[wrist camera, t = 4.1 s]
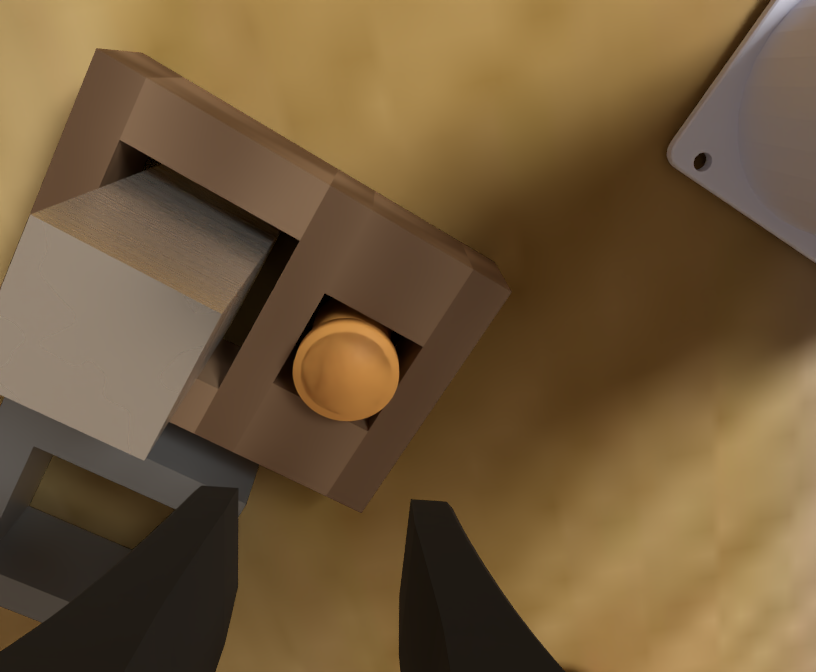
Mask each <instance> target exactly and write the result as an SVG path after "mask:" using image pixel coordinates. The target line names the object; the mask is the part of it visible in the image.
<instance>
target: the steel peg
mask: <svg viewBox="0 0 816 672" xmlns="http://www.w3.org/2000/svg"><path fill="white" fill-rule="evenodd" d="M281 231H282V230H280V229H278V228H276V227H274V226H273V225H271V224H269V223H267V222H266V221H264V220H262V219H260V218H258V217H257V216H255V215H253V214H251V213H249V212H248V211H246V210H244V209H242V208H241V207H239V206H237V205H235V204H233V203H232V202H230V201H228V200H226V199H225V198H223V197H221V196H219V195H217V194H216V193H214V192H212V191H210V190H208V189H207V188H205V187H203V186H201V185H200V184H198V183H196V182H194V181H192V180H191V179H189V178H187V177H185V176H184V175H182V174H180V173H178V172H176V171H175V170H173V169H171V168H169V167H167V166H166V165H164V164H161V165H158V166H155V167H153V168H150V169H148V170H145V171H142V172H140V173H137V174H135V175H132V176H129V177H127V178H124V179H122V180H119V181H116V182H114V183H111V184H109V185H106V186H103V187H101V188H98V189H96V190H93V191H90V192H88V193H85V194H82V195H80V196H77V197H75V198H72V199H69V200H67V201H64V202H62V203H59V204H56V205H54V206H51V207H49V208H46V209H43V210H41V211H38V212H36V213H33V214H30V217H29V219H28V222H27V224H26V227H25V229H24V232H23V234H22V237H21V239H20V242H19V244H18V247H17V249H16V252H15V254H14V257H13V259H12V262H11V264H10V267H9V269H8V272H7V274H6V277H5V279H4V282H3V284H2V287H1V289H0V395H2V396H4V397H6V398H8V399H11V400H13V401H15V402H17V403H19V404H22V405H24V406H26V407H28V408H30V409H32V410H35V411H37V412H39V413H41V414H43V415H45V416H48V417H50V418H52V419H54V420H56V421H59V422H61V423H63V424H65V425H67V426H69V427H72V428H74V429H76V430H78V431H80V432H83V433H85V434H87V435H89V436H91V437H93V438H96V439H98V440H100V441H102V442H104V443H107V444H109V445H111V446H113V447H115V448H117V449H120V450H122V451H124V452H126V453H128V454H131V455H133V456H135V457H137V458H139V459H141V460H145V459H146V457H147V456H148V454H149V453H150V451H151V449H152V448H153V446H154V445H155V443H156V442H157V440H158V438H159V437H160V435H161V434H162V432H163V431H164V429H165V427H166V426H167V424H168V423H169V421H170V420H171V418H172V416H173V415H174V413H175V412H176V410H177V409H178V407H179V405H180V404H181V402H182V401H183V399H184V398H185V396H186V394H187V393H188V391H189V390H190V388H191V387H192V385H193V383H194V382H195V380H196V379H197V377H198V376H199V374H200V372H201V371H202V369H203V368H204V366H205V365H206V363H207V361H208V360H209V358H210V357H211V355H212V354H213V352H214V350H215V349H216V347H217V346H218V344H219V343H220V341H221V339H222V338H223V336H224V335H225V333H226V332H227V330H228V329H229V327H230V325H231V324H232V322H233V320H234V318H235V317H236V315H237V313H238V311H239V309H240V307H241V305H242V303H243V302H244V300H245V298H246V296H247V294H248V292H249V290H250V289H251V287H252V285H253V283H254V281H255V279H256V277H257V276H258V274H259V272H260V270H261V268H262V266H263V264H264V262H265V261H266V259H267V257H268V255H269V253H270V251H271V249H272V248H273V246H274V244H275V242H276V240H277V238H278V236H279V234H280V233H281Z"/></svg>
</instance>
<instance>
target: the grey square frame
mask: <svg viewBox="0 0 816 672" xmlns="http://www.w3.org/2000/svg"><path fill="white" fill-rule="evenodd" d="M53 455H55V456H57V457H59V458H62V459H64V460H66V461H68V462H70V463H73V464H75V465H77V466H79V467H82V468H84V469H86V470H88V471H91V472H93V473H95V474H97V475H100V476H102V477H104V478H106V479H109V480H111V481H113V482H115V483H118V484H120V485H122V486H124V487H127V488H129V489H131V490H133V491H135V492H138V493H140V494H142V495H144V496H147V497H149V498H151V499H153V500H156V501H158V502H160V503H162V504H165V505H167V506H169V507H171V508H174V509H177V508H178V507H179V506H180V505H181V504H182V503H183V502H184V501H185V500H186V499H187V498H188V497H189V496H190V495H191V494H192V493H193V492H194V491H195V490H196V489H198V488H199V487H200V486H217V487H232V488H239V495H238V517H239V515H240V514H241V512H242V510H243V509H244V507H245V505H246V504H247V500H248V497H249V494H250V491H251V488H252V485H253V482H254V479H255V476H256V473H257V470H258V467H259V464H257V463H255V462H253V461H251V460H249V459H247V458H244V457H242V456H240V455H238V454H236V453H234V452H232V451H230V450H228V449H225V448H223V447H221V446H219V445H217V444H215V443H213V442H211V441H209V440H207V439H204V438H202V437H200V436H198V435H196V434H194V433H192V432H190V431H188V430H185V429H183V428H181V427H179V426H177V425H175V424H173V423H171V422H169V423H168V424H167V426H166V427H165V429H164V431H163V432H162V434H161V435H160V437H159V438H158V440H157V442H156V443H155V445H154V446H153V448H152V449H151V451H150V453H149V454H148V456H147V457H146V459H145V460H141V459H139V458H137V457H135V456H133V455H131V454H128V453H126V452H124V451H122V450H120V449H117V448H115V447H113V446H111V445H109V444H107V443H104V442H102V441H100V440H98V439H96V438H93V437H91V436H89V435H87V434H85V433H83V432H80V431H78V430H76V429H74V428H72V427H69V426H67V425H65V424H63V423H61V422H59V421H56V420H54V419H52V418H50V417H48V416H45V415H43V414H41V413H39V412H37V411H35V410H32V409H30V408H28V407H26V406H24V405H22V404H19V403H17V402H15V401H13V400H11V399H8V398H6V397H4V399H3V402H2V404H1V406H0V606H1V607H3V608H6V609H8V610H11V611H14V612H16V613H19V614H21V615H24V616H26V617H29V618H32V619H34V620H37V621H39V622H42V623H43V622H44V621H46V620H47V619H48V618H50V617H51V616H52V615H54V614H55V613H56V612H58V611H59V610H60V609H62V608H63V607H64V606H66V605H67V604H68V603H69V602H71V601H72V600H73V599H74V598H76V597H77V596H78V595H79V594H81V593H82V592H83V591H84V590H86V589H87V588H88V587H89V586H90V585H92V584H93V583H94V582H95V581H97V580H98V579H99V578H100V577H102V576H103V575H104V574H105V573H106V572H108V571H109V570H110V569H111V568H112V567H114V566H115V565H116V564H117V563H118V562H119V561H120V560H122V559H123V558H124V557H125V556H126V555H127V554H128V553H129V552H130V551H132V550H131V549H128V548H126V547H123V546H121V545H119V544H116V543H114V542H112V541H109V540H107V539H105V538H102V537H100V536H98V535H95V534H93V533H91V532H88V531H86V530H84V529H81V528H79V527H77V526H74V525H72V524H70V523H67V522H65V521H62V520H60V519H58V518H55V517H53V516H51V515H48V514H46V513H44V512H41V511H39V510H37V509H34V508H32V507H30V506H29V505H30V503H31V500H32V498H33V496H34V494H35V492H36V490H37V488H38V486H39V484H40V481H41V479H42V477H43V475H44V473H45V471H46V469H47V467H48V464H49V462H50V460H51V458H52V456H53Z"/></svg>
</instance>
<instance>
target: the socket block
mask: <svg viewBox="0 0 816 672" xmlns="http://www.w3.org/2000/svg"><path fill="white" fill-rule="evenodd" d="M148 156H150V157H151V158H153V159H155V160H157V161H159V162H160V163H162V164H164V165H166V166H167V167H169V168H171V169H173V170H175V171H176V172H178V173H180V174H182V175H184V176H185V177H187V178H189V179H191V180H192V181H194V182H196V183H198V184H200V185H201V186H203V187H205V188H207V189H208V190H210V191H212V192H214V193H216V194H217V195H219V196H221V197H223V198H225V199H226V200H228V201H230V202H232V203H233V204H235V205H237V206H239V207H241V208H242V209H244V210H246V211H248V212H249V213H251V214H253V215H255V216H257V217H258V218H260V219H262V220H264V221H266V222H267V223H269V224H271V225H273V226H274V227H276V228H278V229H280V230H282V231H283V232H285V233H287V234H289V235H290V236H292V237H294V238H296V239H298V240H299V243H298V245H297V246H296V248H295V250H294V252H293V254H292V255H291V257H290V259H289V261H288V263H287V265H286V266H285V268H284V270H283V272H282V274H281V276H280V277H279V279H278V281H277V283H276V285H275V286H274V288H273V290H272V292H271V294H270V296H269V297H268V299H267V301H266V303H265V305H264V307H263V308H262V310H261V312H260V314H259V316H258V317H257V319H256V321H255V323H254V325H253V327H252V328H251V330H250V332H249V334H248V336H247V337H246V339H245V341H244V343H243V345H242V347H239V346H237V345H235V344H233V343H231V342H229V341H227V340H225V339H223V338H222V339H221V341H220V343H219V344H218V346H217V347H216V349H215V350H214V352H213V354H212V355H211V357H210V358H209V360H208V361H207V363H206V365H205V366H204V368H203V369H202V371H201V372H200V374H199V376H198V377H197V379H196V380H195V382H194V383H193V385H192V387H191V388H190V390H189V391H188V393H187V394H186V396H185V398H184V399H183V401H182V402H181V404H180V405H179V407H178V409H177V410H176V412H175V413H174V415H173V416H172V418H171V420H170V421H169V422H171V423H173V424H175V425H177V426H179V427H181V428H183V429H185V430H188V431H190V432H192V433H194V434H196V435H198V436H200V437H202V438H204V439H207V440H209V441H211V442H213V443H215V444H217V445H219V446H221V447H223V448H225V449H228V450H230V451H232V452H234V453H236V454H238V455H240V456H242V457H244V458H247V459H249V460H251V461H253V462H255V463H257V464H259V465H261V466H263V467H265V468H268V469H270V470H272V471H274V472H276V473H278V474H280V475H282V476H284V477H287V478H289V479H291V480H293V481H295V482H297V483H299V484H301V485H303V486H306V487H308V488H310V489H312V490H314V491H316V492H318V493H320V494H322V495H324V496H327V497H329V498H331V499H333V500H335V501H337V502H339V503H341V504H343V505H346V506H348V507H350V508H352V509H354V510H356V511H358V512H360V513H362V512H363V510H364V509H365V507H366V506H367V504H368V503H369V501H370V500H371V498H372V497H373V495H374V494H375V492H376V491H377V490H378V488H379V487H380V485H381V484H382V482H383V481H384V479H385V478H386V476H387V475H388V473H389V472H390V470H391V469H392V467H393V466H394V464H395V463H396V462H397V460H398V459H399V457H400V456H401V454H402V453H403V451H404V450H405V448H406V447H407V445H408V444H409V442H410V441H411V439H412V438H413V437H414V435H415V434H416V432H417V431H418V429H419V428H420V426H421V425H422V423H423V422H424V420H425V419H426V417H427V416H428V414H429V413H430V412H431V410H432V409H433V407H434V406H435V404H436V403H437V401H438V400H439V398H440V397H441V395H442V394H443V392H444V391H445V389H446V388H447V387H448V385H449V384H450V382H451V381H452V379H453V378H454V376H455V375H456V373H457V372H458V370H459V369H460V367H461V366H462V364H463V363H464V362H465V360H466V359H467V357H468V356H469V354H470V353H471V351H472V350H473V348H474V347H475V345H476V344H477V342H478V341H479V339H480V338H481V337H482V335H483V334H484V332H485V331H486V329H487V328H488V326H489V325H490V323H491V322H492V320H493V319H494V317H495V316H496V314H497V313H498V312H499V310H500V309H501V307H502V306H503V304H504V303H505V301H506V300H507V298H508V297H509V295H510V294H511V290H510V288H509V286H508V285H507V283H506V281H505V279H504V278H503V276H502V274H501V272H500V271H499V269H498V267H497V266H496V264H495V262H493V261H492V260H490V259H488V258H487V257H485V256H483V255H482V254H480V253H478V252H476V251H475V250H473V249H471V248H470V247H468V246H466V245H465V244H463V243H461V242H460V241H458V240H456V239H455V238H453V237H451V236H450V235H448V234H446V233H445V232H443V231H441V230H439V229H438V228H436V227H434V226H433V225H431V224H429V223H428V222H426V221H424V220H423V219H421V218H419V217H418V216H416V215H414V214H413V213H411V212H409V211H407V210H406V209H404V208H402V207H401V206H399V205H397V204H396V203H394V202H392V201H391V200H389V199H387V198H386V197H384V196H382V195H381V194H379V193H377V192H375V191H374V190H372V189H370V188H369V187H367V186H365V185H364V184H362V183H360V182H359V181H357V180H355V179H354V178H352V177H350V176H349V175H347V174H345V173H344V172H342V171H340V170H338V169H337V168H335V167H333V166H332V165H330V164H328V163H327V162H325V161H323V160H322V159H320V158H318V157H317V156H315V155H313V154H312V153H310V152H308V151H306V150H305V149H303V148H301V147H300V146H298V145H296V144H295V143H293V142H291V141H290V140H288V139H286V138H285V137H283V136H281V135H280V134H278V133H276V132H274V131H273V130H271V129H269V128H268V127H266V126H264V125H263V124H261V123H259V122H258V121H256V120H254V119H253V118H251V117H249V116H248V115H246V114H244V113H243V112H241V111H239V110H237V109H236V108H234V107H232V106H231V105H229V104H227V103H226V102H224V101H222V100H221V99H219V98H217V97H216V96H214V95H212V94H211V93H209V92H207V91H205V90H204V89H202V88H200V87H199V86H197V85H195V84H194V83H192V82H190V81H189V80H187V79H185V78H184V77H182V76H180V75H179V74H177V73H175V72H174V71H172V70H170V69H168V68H167V67H165V66H163V65H162V64H160V63H158V62H157V61H155V60H153V59H152V58H150V57H148V56H147V55H145V54H143V53H139V52H128V51H118V50H108V49H98V48H96V51H95V53H94V56H93V58H92V61H91V63H90V66H89V68H88V71H87V73H86V76H85V78H84V81H83V83H82V86H81V88H80V91H79V93H78V96H77V98H76V101H75V103H74V106H73V108H72V111H71V113H70V116H69V118H68V121H67V123H66V126H65V128H64V131H63V133H62V136H61V138H60V141H59V143H58V146H57V148H56V151H55V153H54V156H53V158H52V161H51V163H50V166H49V168H48V171H47V173H46V176H45V178H44V181H43V183H42V186H41V188H40V191H39V193H38V196H37V198H36V201H35V203H34V206H33V208H32V211H31V213H30V214H33V213H36V212H38V211H41V210H43V209H46V208H49V207H51V206H54V205H56V204H59V203H62V202H64V201H67V200H69V199H72V198H75V197H77V196H80V195H82V194H85V193H88V192H90V191H93V190H96V189H98V188H101V187H103V186H106V185H109V184H111V183H114V182H116V181H119V180H122V179H124V178H127V177H129V176H132V175H135V174H137V173H140V172H141V171H142V169H143V167H144V165H145V162H146V160H147V158H148ZM29 217H30V216H29ZM28 219H29V218H28ZM27 222H28V221H27ZM26 224H27V223H26ZM25 227H26V226H25ZM24 229H25V228H24ZM23 232H24V231H23ZM22 234H23V233H22ZM21 237H22V236H21ZM20 239H21V238H20ZM19 242H20V241H19ZM18 244H19V243H18ZM17 247H18V246H17ZM16 249H17V248H16ZM15 252H16V251H15ZM14 254H15V253H14ZM13 257H14V256H13ZM12 259H13V258H12ZM11 262H12V261H11ZM10 264H11V263H10ZM9 267H10V266H9ZM8 269H9V268H8ZM7 272H8V271H7ZM6 274H7V273H6ZM5 277H6V276H5ZM4 279H5V278H4ZM3 282H4V281H3ZM2 284H3V283H2ZM1 287H2V286H1ZM0 289H1V288H0ZM325 293H326V294H327V295H329V296H331V297H333V298H335V299H337V300H338V301H340V302H342V303H344V304H346V305H348V306H349V307H351V308H353V309H355V310H357V311H359V312H360V313H362V314H364V315H366V316H368V317H369V318H371V319H373V320H375V321H377V322H379V323H380V324H382V325H384V326H386V327H388V328H390V329H391V330H393V331H395V332H397V333H399V334H401V335H402V337H401V339H400V340H399V342H398V343H397V345H396V346H395V349H396V352H397V355H398V360H399V381H398V386H397V389H396V391H395V394H394V395H393V397H392V399H391V400H390V401H389V403H388V404H387V405H386V406H385V407H384V408H383V409H381V410H380V411H379V412H377V413H376V414H374V415H372V416H370V417H367V418H364V419H361V420H356V421H338V420H333V419H330V418H326V417H324V416H322V415H320V414H318V413H316V412H315V411H313V410H312V409H311V408H310V407H309V406H308V405H306V404H305V402H304V401H303V400H302V399H301V397H300V395H299V394H298V392H297V390H296V387H295V384H294V380H293V364H294V360H295V356H296V353H297V350H298V347H296V346H295V344H296V342H297V340H298V339H299V337H300V335H301V334H302V332H303V330H304V328H305V327H306V325H307V323H308V321H309V320H310V318H311V316H312V315H313V313H314V311H315V309H316V308H317V306H318V304H319V302H320V301H321V299H322V297H323V295H324V294H325Z"/></svg>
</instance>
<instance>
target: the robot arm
mask: <svg viewBox="0 0 816 672" xmlns="http://www.w3.org/2000/svg"><path fill="white" fill-rule="evenodd" d="M700 153H704V154H705V155H706V162H705V164H704V166H703V167H701V168H700V169H697V170H696V169H695V168H694V160H695V157H696V156H697V155H698V154H700ZM667 158H668V161H669V163H670V164H671V165H672V166H673V167H674V168H676V169H677V170H678V171H680V172H681V173H683V174H684V175H686V176H687V177H689V178H690V179H692V180H693V181H695V182H696V183H698V184H699V185H701V186H702V187H704V188H705V189H707V190H708V191H710V192H711V193H712V194H714V195H715V196H717V197H718V198H720V199H721V200H723V201H724V202H726V203H727V204H729V205H730V206H732V207H733V208H735V209H736V210H738V211H739V212H741V213H742V214H744V215H745V216H747V217H748V218H749V219H751V220H752V221H754V222H755V223H757V224H758V225H760V226H761V227H763V228H764V229H766V230H767V231H769V232H770V233H772V234H773V235H775V236H776V237H778V238H779V239H781V240H782V241H783V242H785V243H786V244H788V245H789V246H791V247H792V248H794V249H795V250H797V251H798V252H800V253H801V254H803V255H804V256H806V257H807V258H809V259H810V260H812V261H813V262H815V263H816V0H771V1H770V2H769V4H768V5H767V7H766V8H765V9H764V11H763V12H762V14H761V15H760V17H759V18H758V19H757V21H756V22H755V24H754V25H753V26H752V28H751V29H750V31H749V32H748V33H747V35H746V36H745V38H744V39H743V40H742V42H741V43H740V45H739V46H738V48H737V49H736V50H735V52H734V53H733V55H732V56H731V57H730V59H729V60H728V62H727V63H726V64H725V66H724V67H723V69H722V70H721V72H720V73H719V74H718V76H717V77H716V79H715V80H714V81H713V83H712V84H711V86H710V87H709V88H708V90H707V91H706V93H705V94H704V96H703V97H702V98H701V100H700V101H699V103H698V104H697V105H696V107H695V108H694V110H693V111H692V112H691V114H690V115H689V117H688V118H687V120H686V121H685V122H684V124H683V125H682V127H681V128H680V129H679V131H678V132H677V134H676V135H675V136H674V138H673V139H672V141H671V142H670V144H669V146H668V148H667ZM238 495H239V488H232V487H217V486H200V487H199V488H198V489H196V490H195V491H194V492H193V493H192V494H191V495H190V496H189V497H188V498H187V499H186V500H185V501H184V502H183V503H182V504H181V505H180V506H179V507H178V508H177V509H175V510H174V511H173V512H172V513H171V514H170V515H169V516H168V517H167V518H166V519H165V520H164V521H163V522H162V523H161V524H160V525H159V526H158V527H157V528H156V529H155V530H154V531H152V532H151V533H150V534H149V535H148V536H147V537H146V538H145V539H144V540H143V541H142V542H140V543H139V544H138V545H137V546H136V547H135V548H134V549H133V550H132V551H130V552H129V553H128V554H127V555H126V556H125V557H124V558H123V559H122V560H120V561H119V562H118V563H117V564H116V565H115V566H114V567H112V568H111V569H110V570H109V571H108V572H106V573H105V574H104V575H103V576H102V577H100V578H99V579H98V580H97V581H95V582H94V583H93V584H92V585H90V586H89V587H88V588H87V589H86V590H84V591H83V592H82V593H81V594H79V595H78V596H77V597H76V598H74V599H73V600H72V601H71V602H69V603H68V604H67V605H66V606H64V607H63V608H62V609H60V610H59V611H58V612H56V613H55V614H54V615H52V616H51V617H50V618H48V619H47V620H46V621H44V622H43V623H41V624H40V625H39V626H37V627H36V628H35V629H33V630H32V631H30V632H29V633H27V634H26V635H24V636H23V637H21V638H20V639H18V640H17V641H16V642H14V643H13V644H11V645H10V646H8V647H7V648H5V649H4V650H2V651H0V672H215V671H216V668H217V665H218V662H219V659H220V657H221V654H222V651H223V648H224V645H225V641H226V636H227V632H228V628H229V624H230V619H231V615H232V610H233V606H234V601H235V597H236V592H237V588H238ZM399 660H400V671H401V672H565V671H564V670H563V668H562V667H561V666H560V665H559V664H558V663H557V662H556V661H555V659H554V658H553V657H552V656H551V655H550V654H549V652H548V651H547V650H546V649H545V648H544V646H543V645H542V644H541V643H540V641H539V640H538V639H537V638H536V637H535V635H534V634H533V633H532V632H531V630H530V629H529V628H528V626H527V625H526V624H525V622H524V621H523V620H522V618H521V617H520V616H519V614H518V613H517V612H516V610H515V609H514V608H513V606H512V605H511V604H510V602H509V601H508V599H507V598H506V597H505V595H504V594H503V592H502V591H501V589H500V588H499V586H498V585H497V583H496V582H495V580H494V579H493V577H492V576H491V574H490V573H489V571H488V570H487V568H486V567H485V565H484V563H483V562H482V560H481V559H480V557H479V555H478V554H477V552H476V550H475V549H474V547H473V545H472V544H471V542H470V540H469V539H468V537H467V535H466V533H465V531H464V530H463V528H462V526H461V524H460V522H459V520H458V518H457V517H456V515H455V513H454V511H453V509H452V507H451V506H450V505H449V504H448V503H447V502H443V501H428V500H413V499H411V502H410V511H409V519H408V528H407V536H406V545H405V553H404V562H403V570H402V578H401V587H400V595H399Z"/></svg>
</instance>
